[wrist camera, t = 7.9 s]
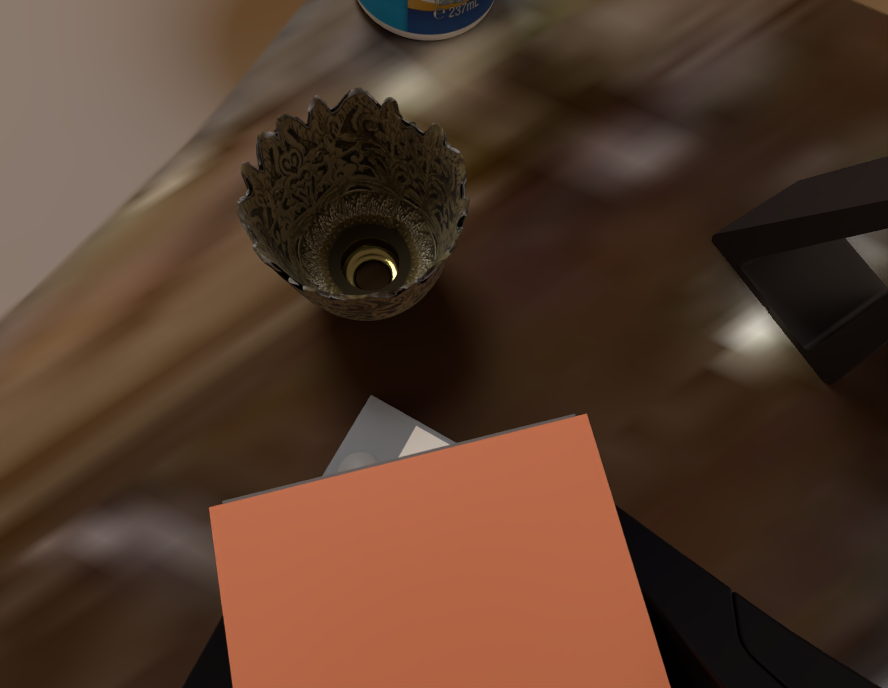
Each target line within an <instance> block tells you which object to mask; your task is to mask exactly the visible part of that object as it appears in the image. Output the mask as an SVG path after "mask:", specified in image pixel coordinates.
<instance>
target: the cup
mask: <svg viewBox="0 0 888 688" xmlns="http://www.w3.org/2000/svg"><path fill="white" fill-rule="evenodd" d="M425 133H426V134H425ZM274 134H275V135H274ZM256 154H257V160H258V165H259V170H258V169H257V168H255V167H254V166H252V165H251V164H250V162H243V163H242V167H241V174H242V177H243V179H244V182H245V184H246V186H247V192H246V196H244V197H241V198H240V199H239V201H238V203H237V207H236V209H237V213H238V216H239V218H240V220H241V223H242V225H243V227H244V229H245V230H246V232H247V234H248V235H249V237H250V239H251V240H252V242H253V244H254V245H252V246H253V248H254V251H255V252H256V254H257V255H258V256H259V257H260V259H261V260H262V261H263V262H264V263H265V264H267V265H268V266H270V267H271V268H272V269H273V270H275V271H276V272H277V273H278V274H279V275H280V276H281V277H282V278H283V279H284V280H285V281H287V282H288V283H289V284H290V285H291V286H292V287H293V288H295V289H296V290H297V291H298V292H299V293H301V294H302V295H303V296H304V297H306V298H307V299H308V300H309V301H311V302H312V303H314V304H315V305H317V306H318V307H320V308H322V309H323V310H325V311H327V312H329V313H331V314H334V315H337V316H339V317H343V318H347V319H352V320H359V321H373V320H381V319H386V318H389V317H392V316H395V315H397V314H400V313H402V312H404V311H406V310H407V309H409V308H411V307H412V306H414V305H415V304H416V303H418V302H419V301H420V300H421V299H422V298H423V297H424V296H425V295H426V294H427V293H428V292H429V291H430V289H431V288H432V287H433V286H434V284H435V283H436V281H437V280H438V278H439V277H440V275H441V273H442V271H443V269H444V268H445V266H446V264H447V262H448V260H449V258H450V256H451V254H452V252H453V250H454V249H455V247H456V245H457V243H458V241H459V238H460V236H461V233H462V230H463V228H462V225H463V223H464V220H465V218H466V217H467V212H468V206H469V200H470V198H466V197H465V186H466V180H467V179H466V169H465V163H464V158H463V155H462V154H461V152H460V151H459V150H457V149H455V148H453V146H452V145H450V144H449V143H447V142H446V133H445V131H444V130H443V128H442V127H441V126H440V125H439V124H438V123H433V124H432V125H431V126H429V127H428V129H427V131H426V132H423V131H421V130H420V129H419V128H418V126H417V124H416V123H415V122H408V121H406V120H404V119H403V117H402V115H401V114H400V113H399V109H398V104H397V102H396V100H395V99H393V98H391V97H389V98H386V99H385V100H384V102H383V104H382V106H381V105H380V104H379V103H378V102H377V101H376V100H375V99H374V98H373V97H372V96H371V95H370V94H369V93H368V91H366V90H364V89H362V88H356V89H352V90H350V91H349V92H348V93H347V94H346V95H344V96H343V98H342V99H341V101H340V102H339V103H338V105H337V106H335V107H333V108H331V109H330V108H329V107H328V106H327V104H326V102H325V101H323V100H322V99H321V98H320V97H319V96H317V95H315V96H314V97H313V99H312V100H311V103H310V105H309V107H308V122H307V124H305V122H303V121H302V120H301V119H300V118H298V117H295V118H294V117H292V116H289V115H287V114H281V115H280V116H278V118H277V120H276V130H274V133H272V132H261V133H259V135H258V137H257V142H256ZM257 167H258V166H257ZM372 260H373V261H379V262H381V263H383V264H384V265H385V266H386V267H387V268H388V270H389V272H390V281H389V283H388V285H387V286H385V287H383V288H381V289H378V290H362V289H361V288H360V287H359V286H358V284H357V282H356V277H355V276H356V271H357V269H358V268H359V266H360V265H361V264H363V263H365V262H367V261H372Z"/></svg>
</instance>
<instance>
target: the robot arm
mask: <svg viewBox="0 0 888 688" xmlns="http://www.w3.org/2000/svg"><path fill="white" fill-rule="evenodd" d="M615 508H616V511H617V514H618V517H619V521H620V524H621V527H622V530H623V534H624V537H625V540H626V544H627V547H628V550H629V553H630V557H631V560H632V563H633V566H634V570H635V573H636V576H637V579H638V583H639V586H640V589H641V592H642V596H643V599H644V602H645V605H646V609H647V612H648V615H649V618H650V622H651V625H652V628H653V632H654V635H655V638H656V641H657V645H658V648H659V651H660V654H661V658H662V661H663V664H664V667H665V671H666V674H667V677H668V680H669V684H670V687H671V688H881V687H880V686H878V685H876V684H875V683H873V682H871V681H870V680H868V679H867V678H865V677H863V676H862V675H860V674H858V673H857V672H855V671H854V670H852V669H850V668H849V667H847V666H845V665H844V664H842V663H841V662H839V661H837V660H836V659H834V658H832V657H831V656H829V655H828V654H826V653H824V652H823V651H821V650H820V649H818V648H817V647H815V646H814V645H812V644H810V643H809V642H807V641H806V640H804V639H803V638H801V637H799V636H798V635H796V634H795V633H793V632H792V631H790V630H789V629H787V628H786V627H784V626H783V625H781V624H780V623H779V622H777V621H776V620H774V619H773V618H771V617H770V616H769V615H767V614H766V613H764V612H763V611H761V610H760V609H758V608H757V607H756V606H754V605H753V604H752V603H750V602H749V601H747V600H746V599H745V598H743V597H742V596H740V595H739V594H738V593H736V592H733V593H732V590H731V589H730V588H729V587H728V586H726V585H725V584H724V583H722V582H721V581H720V580H718V579H717V578H715V577H714V576H713V575H711V574H710V573H709V572H707V571H706V570H704V569H703V568H702V567H700V566H699V565H698V564H696V563H695V562H693V561H692V560H691V559H689V558H688V557H687V556H685V555H684V554H682V553H681V552H680V551H678V550H677V549H676V548H674V547H673V546H671V545H670V544H669V543H667V542H666V541H665V540H663V539H662V538H660V537H659V536H658V535H656V534H655V533H654V532H652V531H651V530H649V529H648V528H647V527H645V526H644V525H642V524H641V523H640V522H638V521H637V520H636V519H634V518H633V517H631V516H630V515H629V514H627V513H626V512H625V511H623V510H622V509H620V508H619V507H618V506H616V505H615ZM182 688H233V685H232V677H231V670H230V662H229V655H228V647H227V640H226V632H225V625H224V617H223V616H222V617H221V619H220V621H219V623H218V625H217V626H216V628H215V630H214V632H213V633H212V635H211V637H210V639H209V641H208V642H207V644H206V646H205V648H204V650H203V651H202V653H201V655H200V657H199V659H198V660H197V662H196V664H195V666H194V667H193V669H192V671H191V673H190V675H189V676H188V678H187V680H186V682H185V684H184V685H183V687H182Z"/></svg>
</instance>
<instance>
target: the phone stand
mask: <svg viewBox="0 0 888 688" xmlns="http://www.w3.org/2000/svg"><path fill="white" fill-rule="evenodd" d="M887 228H888V156H887V157H883V158H880V159H876V160H872V161H869V162H865V163H861V164H858V165H854V166H851V167H847V168H843V169H840V170H836V171H832V172H829V173H825V174H821V175H818V176H814V177H810V178H807V179H803V180H799V181H797V182H796V183H794V184H793V185H791V186H790V187H788V188H786V189H785V190H783V191H782V192H780V193H779V194H777V195H775V196H774V197H772V198H771V199H769V200H768V201H766V202H764V203H763V204H761V205H760V206H758V207H757V208H755V209H753V210H752V211H750V212H749V213H747V214H746V215H744V216H743V217H741V218H739V219H738V220H736V221H735V222H733V223H732V224H730V225H728V226H727V227H725V228H724V229H722V230H721V231H719V232H717V233H716V234H714V235H713V237H712V241H713V243H714V244H715V246H716V247H717V248H718V249H719V251H720V252H721V253H722V254H723V256H724V257H725V258H726V260H727V261H728V262H729V263H730V265H731V266H732V267H733V268H734V270H735V271H736V272H737V273H738V275H739V276H740V277H741V279H742V280H743V281H744V282H745V284H746V285H747V286H748V287H749V289H750V290H751V291H752V292H753V294H754V295H755V296H756V297H757V299H758V300H759V301H760V303H761V304H762V305H763V306H766V307H768V308H769V312H768V313H769V314H770V315H771V316H772V318H773V319H774V320H775V322H776V323H777V324H778V325H779V327H780V328H781V329H782V330H783V332H784V333H785V334H786V335H787V337H788V338H789V339H790V341H791V342H792V343H793V344H794V346H795V347H796V348H797V349H798V351H799V352H800V353H801V354H802V356H803V357H804V358H805V360H806V361H807V362H808V363H809V365H810V366H811V367H812V368H813V370H814V371H815V372H816V373H817V375H818V376H819V377H820V379H821V380H822V381H824V382H826V383H829V384H832V383H834V382H836V381H837V380H838V379H839V378H841V377H842V376H843V375H845V374H846V373H847V372H849V371H850V370H851V369H853V368H854V367H855V366H857V365H858V364H859V363H861V362H862V361H863V360H865V359H866V358H867V357H869V356H870V355H871V354H873V353H874V352H875V351H876V350H878V349H879V348H880V347H882V346H883V345H884V344H886V343H887V342H888V288H887V287H886V286H885V285H884V284H883V282H882V281H881V280H880V279H879V278H878V276H877V275H876V274H875V273H874V272H873V271H872V269H871V268H870V267H869V266H868V265H867V263H866V262H865V261H864V260H863V259H862V257H861V256H860V255H859V254H858V253H857V252H856V250H855V249H854V248H853V247H852V246H851V244H850V243H849V242H848V241H847V240H846V239H845V238H847V237H851V236H856V235H860V234H865V233H869V232H873V231H878V230H882V229H887Z"/></svg>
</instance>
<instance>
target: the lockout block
mask: <svg viewBox="0 0 888 688" xmlns="http://www.w3.org/2000/svg"><path fill="white" fill-rule="evenodd" d="M209 511H210V519H211V526H212V534H213V542H214V549H215V557H216V564H217V572H218V579H219V587H220V594H221V602H222V609H223V617H224V625H225V632H226V640H227V647H228V655H229V662H230V670H231V677H232V685H233V688H671V687H670V684H669V680H668V677H667V674H666V671H665V667H664V664H663V661H662V658H661V654H660V651H659V648H658V645H657V641H656V638H655V635H654V632H653V628H652V625H651V622H650V618H649V615H648V612H647V609H646V605H645V602H644V599H643V596H642V592H641V589H640V586H639V583H638V579H637V576H636V573H635V570H634V566H633V563H632V560H631V557H630V553H629V550H628V547H627V544H626V540H625V537H624V534H623V530H622V527H621V524H620V521H619V517H618V514H617V511H616V508H615V504H614V501H613V498H612V495H611V491H610V488H609V485H608V482H607V478H606V475H605V472H604V469H603V465H602V462H601V459H600V455H599V452H598V449H597V446H596V442H595V439H594V436H593V433H592V429H591V426H590V423H589V420H588V416H587V414H583V415H579V416H575V414H572V415H568V416H564V417H560V418H556V419H552V420H548V421H544V422H540V423H536V424H532V425H528V426H523V427H519V428H515V429H511V430H507V431H503V432H499V433H495V434H491V435H487V436H483V437H479V438H475V439H471V440H467V441H463V442H459V443H455V444H451V445H447V446H443V447H439V448H435V449H431V450H427V451H423V452H419V453H415V454H411V455H407V456H402V457H398V458H394V459H390V460H386V461H382V462H378V463H374V464H370V465H366V466H362V467H358V468H354V469H350V470H346V471H342V472H338V473H334V474H330V475H326V476H322V477H318V478H314V479H310V480H306V481H302V482H298V483H294V484H290V485H286V486H282V487H277V488H273V489H269V490H265V491H261V492H257V493H253V494H249V495H245V496H241V497H237V498H233V499H229V500H225V501H222V505H218V506H214V507H210V508H209Z"/></svg>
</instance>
